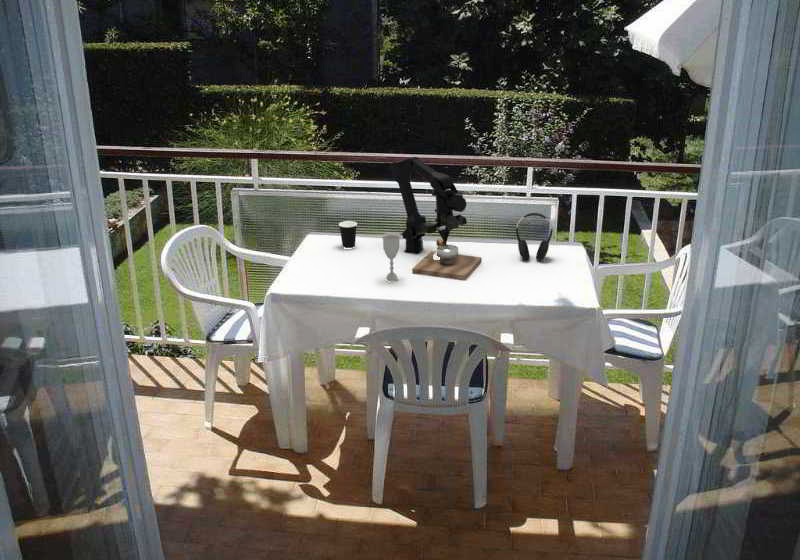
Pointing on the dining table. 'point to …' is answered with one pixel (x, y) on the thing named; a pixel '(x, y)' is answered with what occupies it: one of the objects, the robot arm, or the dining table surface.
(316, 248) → the dining table surface
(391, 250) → the chalice
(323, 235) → the dining table surface
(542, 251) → the headphones
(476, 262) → the wooden cutting board
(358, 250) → the dining table surface
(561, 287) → the dining table surface
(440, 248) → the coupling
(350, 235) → the dixie cup
